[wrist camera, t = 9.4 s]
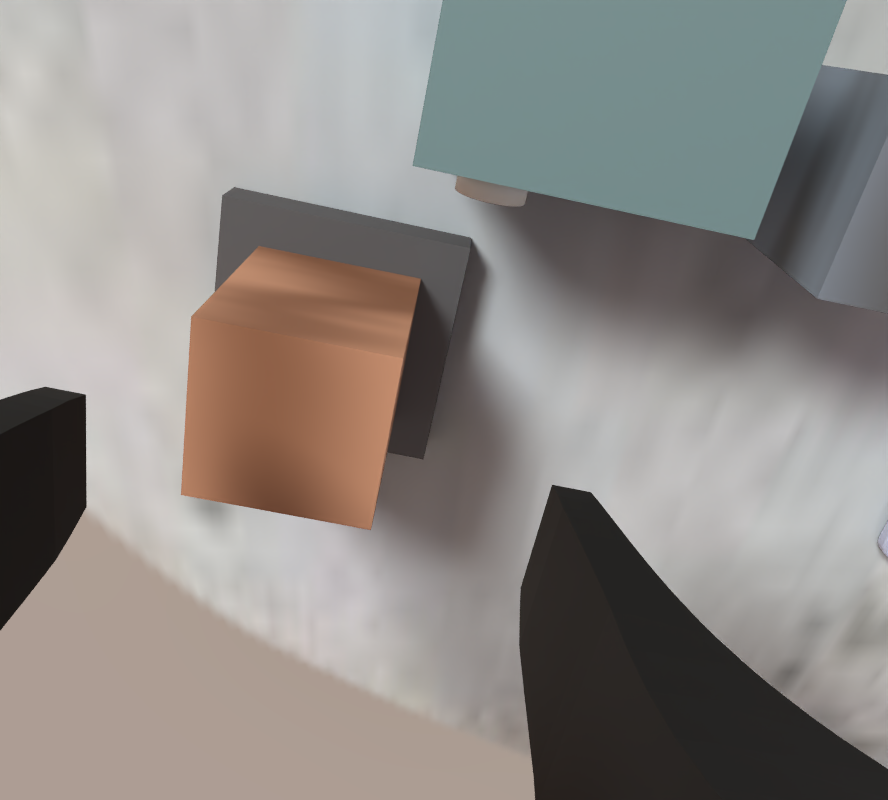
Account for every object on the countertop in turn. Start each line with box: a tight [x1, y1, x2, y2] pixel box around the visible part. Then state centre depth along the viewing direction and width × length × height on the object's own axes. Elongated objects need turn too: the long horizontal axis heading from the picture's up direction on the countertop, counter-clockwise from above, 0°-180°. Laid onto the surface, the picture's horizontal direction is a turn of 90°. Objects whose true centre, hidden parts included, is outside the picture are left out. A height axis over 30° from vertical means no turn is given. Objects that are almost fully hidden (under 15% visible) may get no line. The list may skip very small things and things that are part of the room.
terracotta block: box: [181, 246, 421, 530], centre depth 18 cm, size 4×4×5 cm
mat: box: [215, 187, 471, 459], centre depth 21 cm, size 6×6×1 cm
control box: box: [413, 0, 847, 240], centre depth 15 cm, size 6×5×6 cm
